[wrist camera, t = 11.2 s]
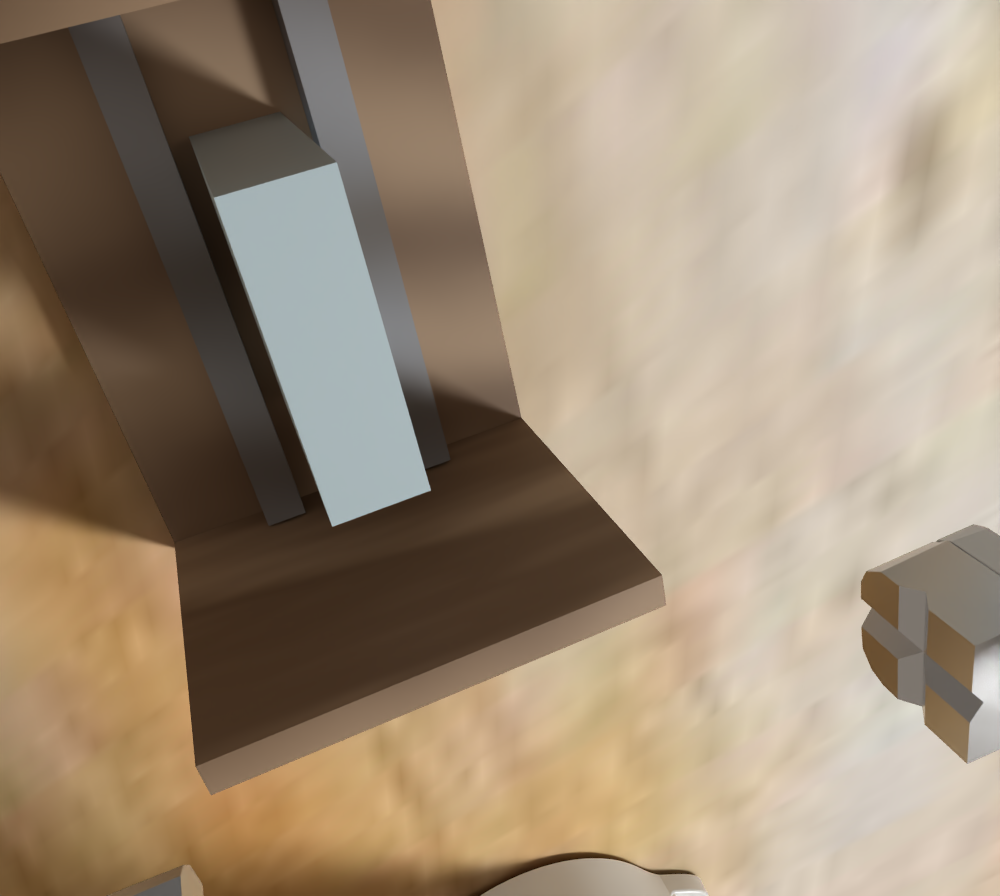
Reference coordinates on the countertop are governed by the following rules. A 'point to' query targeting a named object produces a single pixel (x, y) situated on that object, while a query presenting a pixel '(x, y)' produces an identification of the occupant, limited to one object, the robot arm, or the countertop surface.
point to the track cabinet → (252, 382)
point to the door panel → (314, 310)
